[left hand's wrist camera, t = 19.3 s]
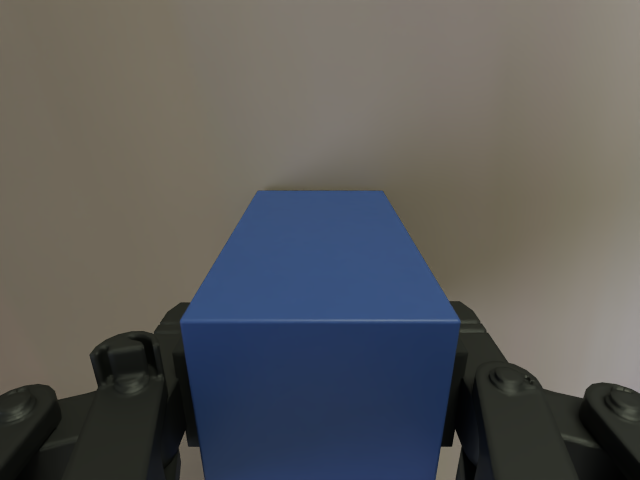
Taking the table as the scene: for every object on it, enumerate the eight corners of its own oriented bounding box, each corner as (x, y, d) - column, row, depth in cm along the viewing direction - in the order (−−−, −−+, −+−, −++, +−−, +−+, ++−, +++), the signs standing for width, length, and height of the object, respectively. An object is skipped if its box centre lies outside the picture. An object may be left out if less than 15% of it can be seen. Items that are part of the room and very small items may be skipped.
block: (265, 321, 17) (213, 542, 9) (257, 190, 14) (178, 320, 6) (374, 321, 17) (426, 542, 9) (383, 190, 14) (463, 320, 6)
